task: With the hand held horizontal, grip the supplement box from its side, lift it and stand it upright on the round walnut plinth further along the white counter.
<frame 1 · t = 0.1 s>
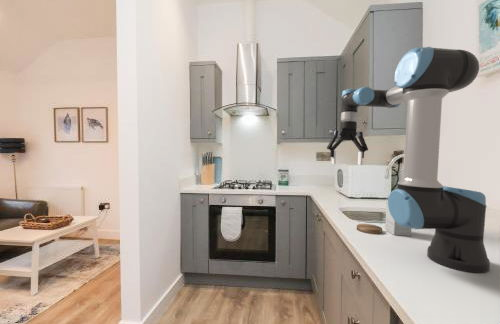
hand: (346, 164, 126), 28 cm above the countertop, tool pointing down, fingers open, 13 cm apart
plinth: (369, 230, 110), on the countertop
supplement box: (397, 233, 108), on the countertop
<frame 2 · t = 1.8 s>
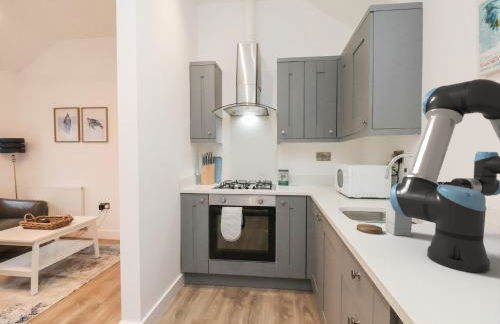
hand: (419, 186, 109), 20 cm above the countertop, tool horizontal, fingers open, 13 cm apart
nothing on the countertop moved.
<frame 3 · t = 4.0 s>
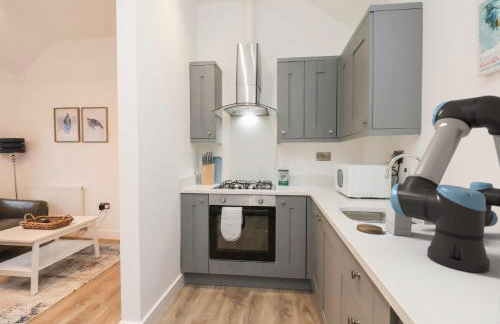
hand: (412, 216, 109), 7 cm above the countertop, tool horizontal, fingers open, 13 cm apart
nothing on the countertop moved.
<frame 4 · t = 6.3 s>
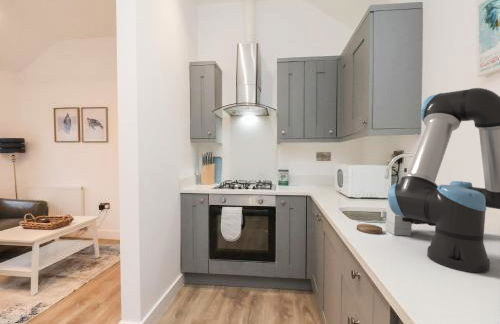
hand: (387, 216, 108), 7 cm above the countertop, tool horizontal, fingers closed on supplement box, 8 cm apart
supplement box: (397, 233, 108), on the countertop, touching gripper
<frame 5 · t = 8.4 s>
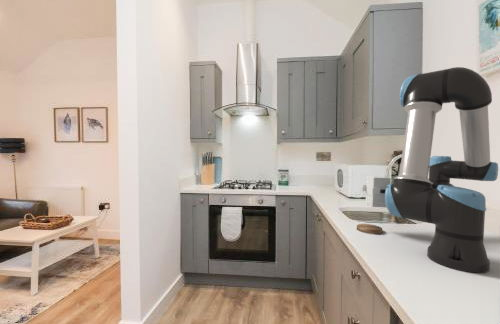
hand: (366, 189, 110), 18 cm above the countertop, tool horizontal, fingers closed on supplement box, 8 cm apart
supplement box: (376, 206, 110), point 11 cm above the countertop, touching gripper
when the fingers open (9 cm above the countertop, at t = 10.6 s): supplement box stays where it is, resting on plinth.
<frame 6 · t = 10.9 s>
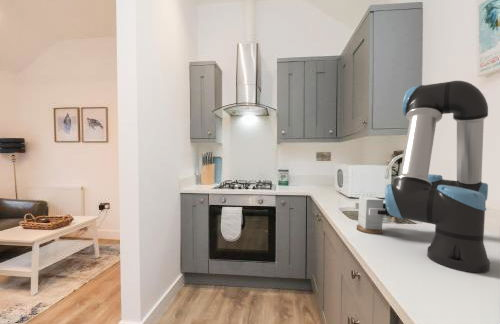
hand: (361, 208, 110), 10 cm above the countertop, tool horizontal, fingers open, 11 cm apart
supplement box: (369, 227, 110), point 1 cm above the countertop, touching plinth
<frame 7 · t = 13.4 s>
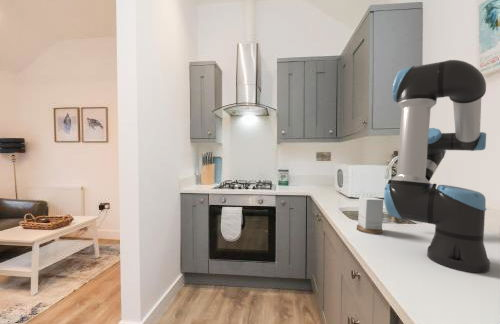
hand: (403, 205, 111), 11 cm above the countertop, tool tilted 45°, fingers open, 13 cm apart
nothing on the countertop moved.
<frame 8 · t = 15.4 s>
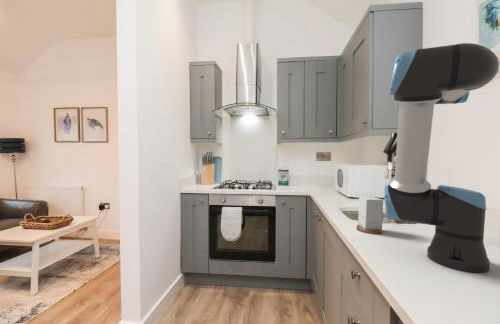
hand: (405, 169, 115), 27 cm above the countertop, tool pointing down, fingers open, 13 cm apart
nothing on the countertop moved.
at the end: supplement box 0.1 cm from the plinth (horizontally); supplement box tilted 0°; supplement box touching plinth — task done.
